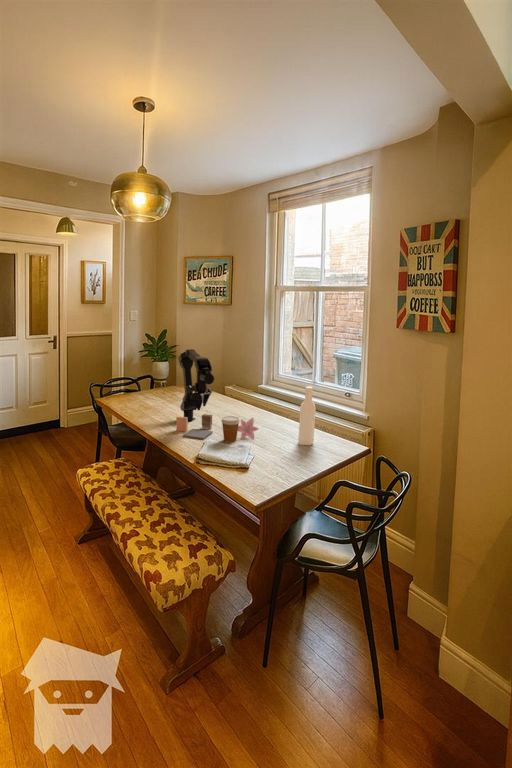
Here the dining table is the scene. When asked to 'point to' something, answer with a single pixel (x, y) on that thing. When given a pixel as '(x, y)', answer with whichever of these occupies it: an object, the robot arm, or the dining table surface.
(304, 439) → the bottle
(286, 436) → the dining table surface
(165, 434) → the dining table surface
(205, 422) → the brown wooden block
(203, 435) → the rest mat
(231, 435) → the disposable coffee cup
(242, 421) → the lily
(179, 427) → the tile
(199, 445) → the dining table surface
